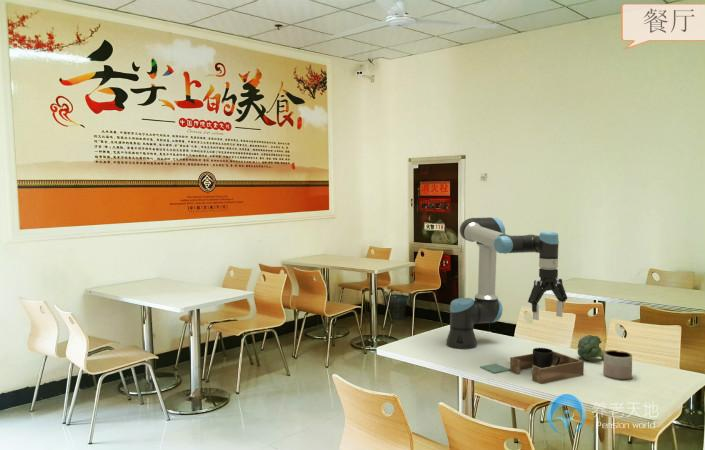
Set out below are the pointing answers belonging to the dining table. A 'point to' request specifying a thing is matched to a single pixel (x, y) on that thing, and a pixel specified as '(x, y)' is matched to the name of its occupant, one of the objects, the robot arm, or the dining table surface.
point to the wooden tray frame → (548, 368)
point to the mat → (495, 368)
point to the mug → (543, 357)
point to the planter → (617, 365)
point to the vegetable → (590, 347)
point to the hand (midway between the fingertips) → (547, 318)
